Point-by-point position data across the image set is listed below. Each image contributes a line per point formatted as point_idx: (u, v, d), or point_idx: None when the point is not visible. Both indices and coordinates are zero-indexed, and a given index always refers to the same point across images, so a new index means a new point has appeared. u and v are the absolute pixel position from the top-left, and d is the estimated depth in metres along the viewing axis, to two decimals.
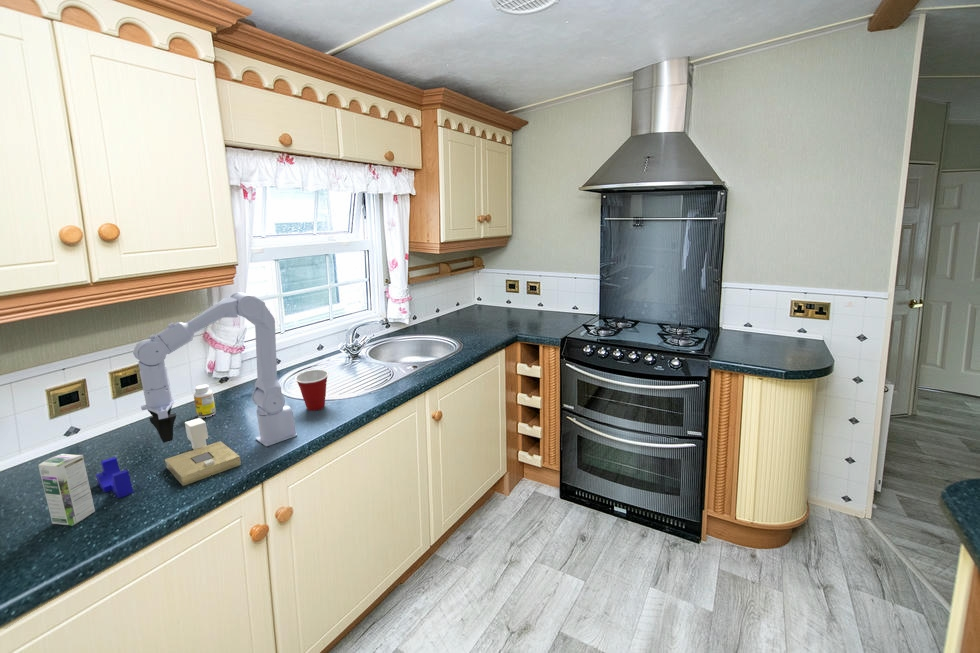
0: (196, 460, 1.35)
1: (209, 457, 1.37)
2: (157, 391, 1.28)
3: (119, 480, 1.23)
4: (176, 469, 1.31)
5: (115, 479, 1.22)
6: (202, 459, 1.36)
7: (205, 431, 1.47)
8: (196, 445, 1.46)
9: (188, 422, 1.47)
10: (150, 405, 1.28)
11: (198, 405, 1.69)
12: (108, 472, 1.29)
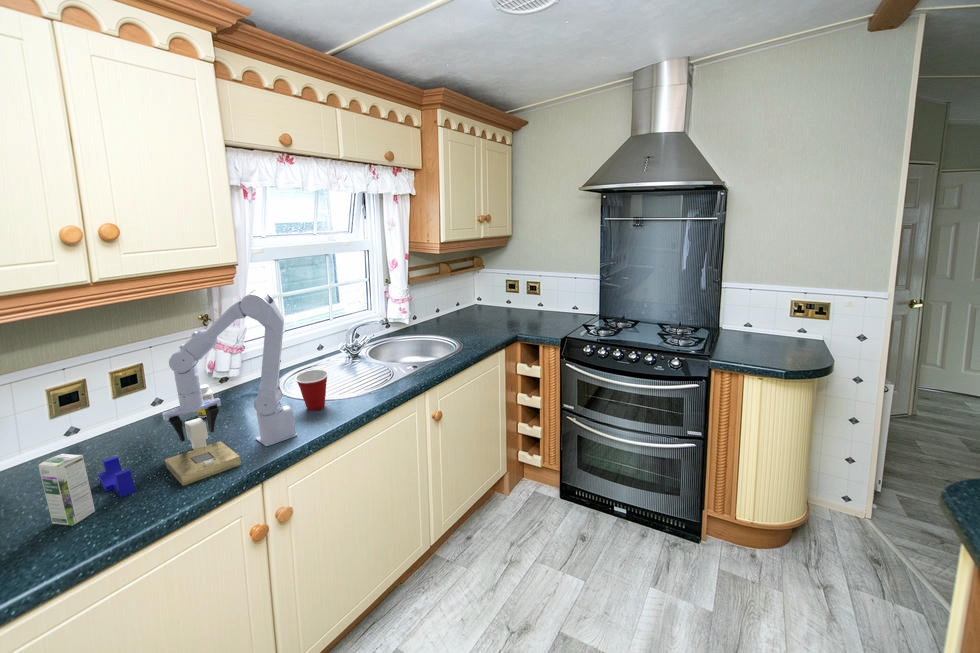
0: (196, 460, 1.35)
1: (209, 457, 1.37)
2: (178, 395, 1.43)
3: (121, 479, 1.23)
4: (176, 469, 1.31)
5: (117, 478, 1.23)
6: (202, 459, 1.36)
7: (205, 431, 1.47)
8: (196, 445, 1.46)
9: (188, 422, 1.47)
10: None
11: None
12: (110, 471, 1.30)
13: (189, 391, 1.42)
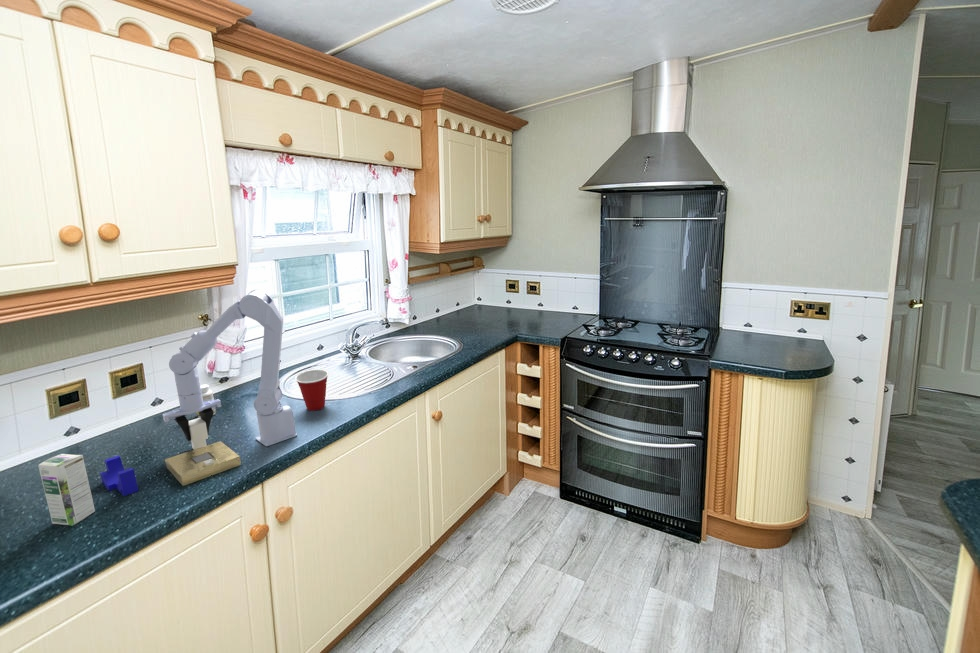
0: (196, 460, 1.35)
1: (209, 457, 1.37)
2: (178, 396, 1.43)
3: (125, 478, 1.24)
4: (176, 469, 1.31)
5: (121, 477, 1.23)
6: (202, 459, 1.36)
7: (205, 431, 1.47)
8: (196, 445, 1.46)
9: None
10: None
11: None
12: (112, 471, 1.30)
13: (189, 392, 1.42)
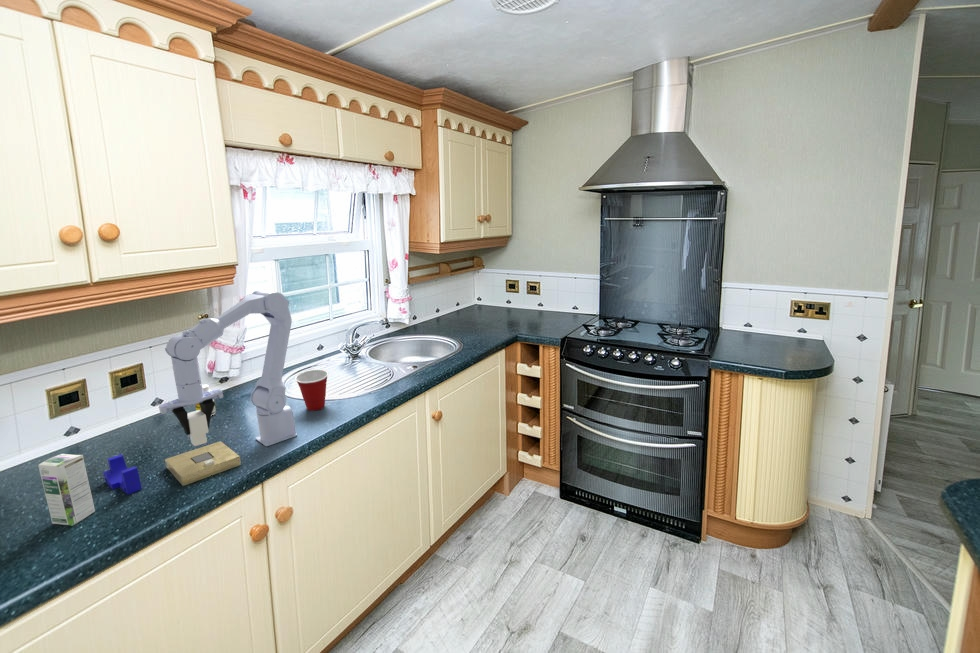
0: (196, 460, 1.35)
1: (209, 457, 1.37)
2: (176, 386, 1.30)
3: (128, 477, 1.24)
4: (176, 469, 1.31)
5: (124, 476, 1.24)
6: (202, 459, 1.36)
7: (205, 424, 1.34)
8: (195, 439, 1.34)
9: (187, 414, 1.34)
10: None
11: (198, 405, 1.69)
12: (115, 469, 1.31)
13: (196, 379, 1.31)
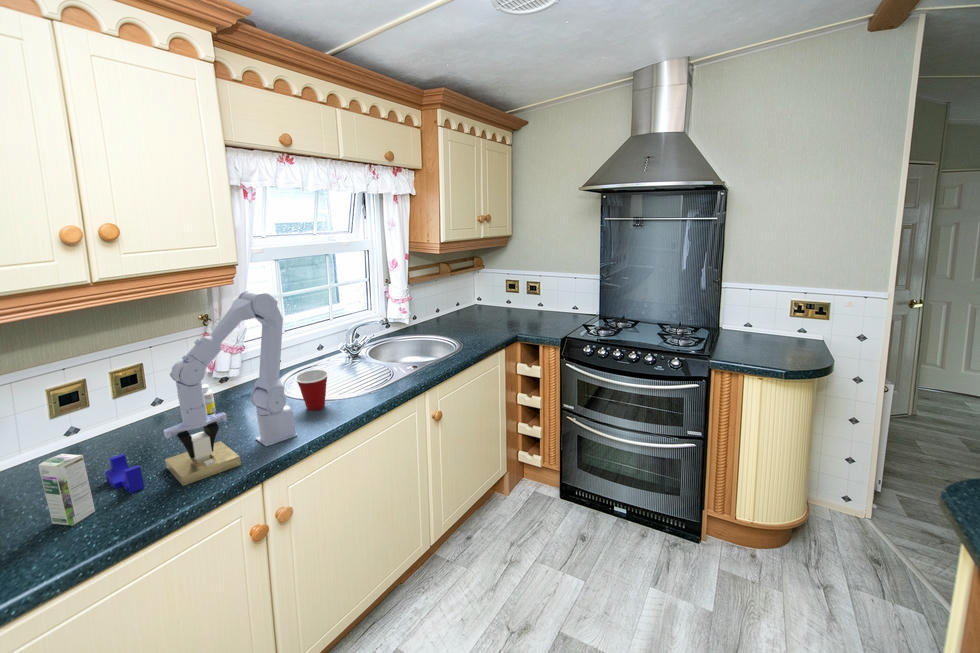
0: None
1: None
2: (181, 410, 1.32)
3: (131, 475, 1.25)
4: (176, 469, 1.31)
5: (127, 474, 1.24)
6: None
7: (209, 446, 1.36)
8: (199, 461, 1.35)
9: None
10: None
11: None
12: (117, 469, 1.31)
13: (200, 404, 1.32)
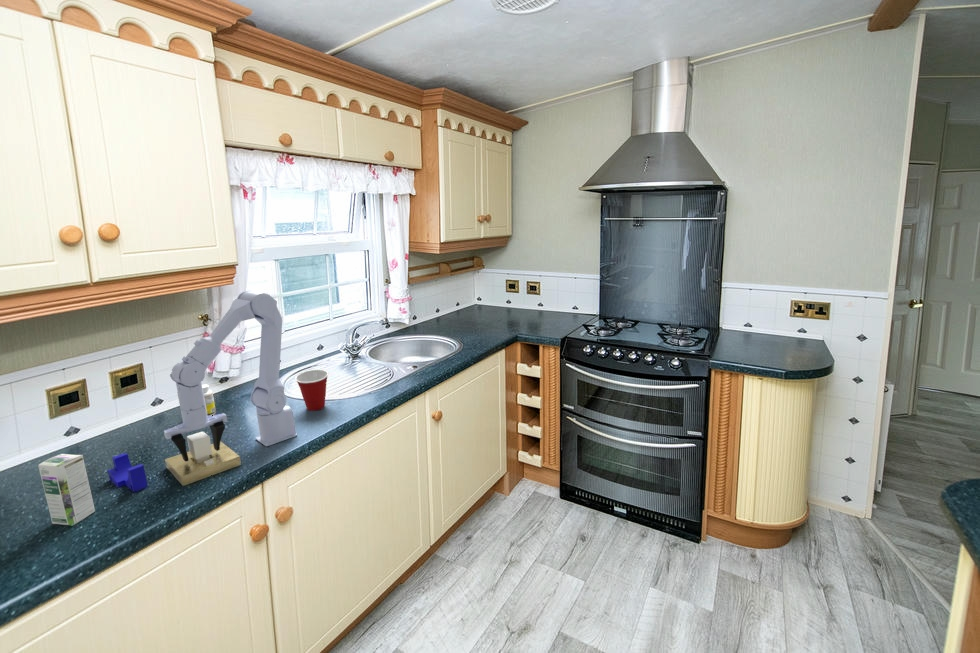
0: None
1: None
2: (181, 411, 1.32)
3: (135, 474, 1.26)
4: (176, 469, 1.31)
5: (131, 473, 1.25)
6: None
7: (209, 446, 1.36)
8: (199, 461, 1.35)
9: (190, 436, 1.36)
10: None
11: None
12: (120, 468, 1.31)
13: (201, 405, 1.32)
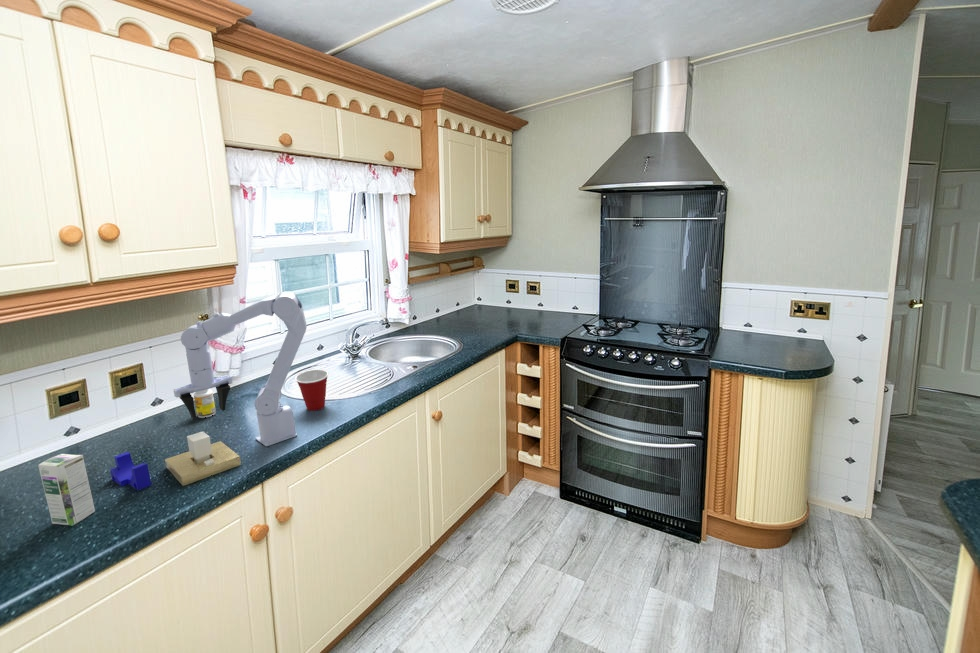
0: None
1: None
2: (189, 372, 1.41)
3: (139, 473, 1.26)
4: (176, 469, 1.31)
5: (135, 472, 1.26)
6: None
7: (209, 446, 1.36)
8: (199, 461, 1.35)
9: (190, 436, 1.36)
10: None
11: (198, 405, 1.69)
12: (122, 467, 1.32)
13: (201, 367, 1.40)
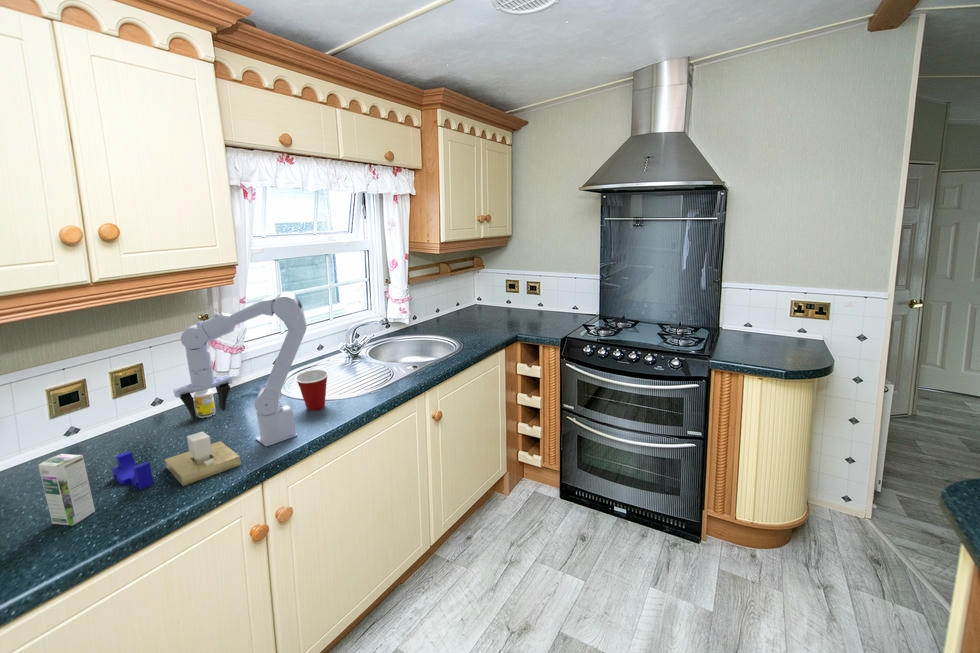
0: None
1: None
2: (189, 372, 1.41)
3: (141, 472, 1.27)
4: (176, 469, 1.31)
5: (137, 471, 1.26)
6: None
7: (209, 446, 1.36)
8: (199, 461, 1.35)
9: (190, 436, 1.36)
10: None
11: (198, 405, 1.69)
12: (124, 466, 1.32)
13: (201, 367, 1.40)
